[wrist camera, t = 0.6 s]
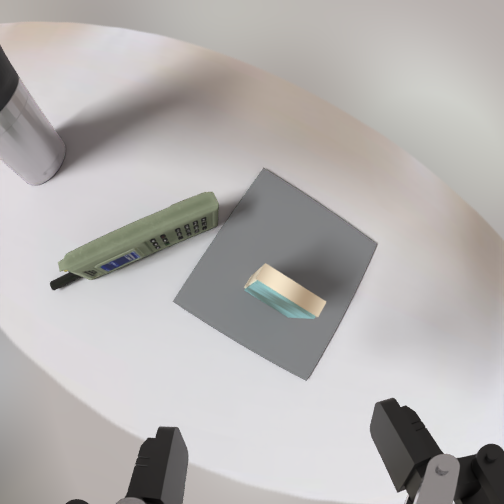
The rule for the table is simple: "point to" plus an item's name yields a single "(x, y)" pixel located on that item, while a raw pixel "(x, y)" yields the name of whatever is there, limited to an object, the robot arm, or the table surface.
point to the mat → (286, 262)
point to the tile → (283, 294)
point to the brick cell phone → (140, 239)
